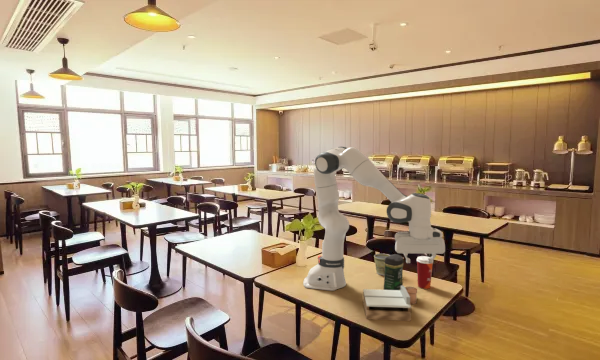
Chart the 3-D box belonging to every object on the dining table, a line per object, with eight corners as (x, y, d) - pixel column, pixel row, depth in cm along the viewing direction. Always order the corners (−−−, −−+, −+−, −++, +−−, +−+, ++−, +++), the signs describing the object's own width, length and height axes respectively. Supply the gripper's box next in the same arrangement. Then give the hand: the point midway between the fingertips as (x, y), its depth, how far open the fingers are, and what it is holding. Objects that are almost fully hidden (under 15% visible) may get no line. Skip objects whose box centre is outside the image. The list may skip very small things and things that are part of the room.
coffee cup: (433, 290, 170) (435, 261, 168) (416, 289, 172) (417, 260, 170) (431, 283, 178) (431, 256, 177) (414, 282, 180) (415, 255, 178)
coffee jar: (395, 297, 162) (396, 259, 160) (381, 292, 168) (381, 256, 166) (405, 291, 169) (406, 255, 167) (391, 286, 175) (391, 251, 173)
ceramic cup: (371, 274, 191) (371, 257, 190) (377, 269, 200) (377, 252, 199) (394, 279, 185) (394, 261, 184) (399, 273, 193) (399, 256, 192)
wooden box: (366, 318, 142) (366, 307, 142) (363, 301, 158) (363, 291, 157) (410, 320, 140) (411, 309, 140) (402, 303, 156) (402, 292, 156)
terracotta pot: (405, 304, 155) (405, 291, 155) (402, 298, 161) (403, 286, 161) (418, 304, 155) (418, 292, 154) (415, 299, 161) (415, 286, 160)
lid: (366, 306, 142) (366, 297, 141) (363, 290, 157) (363, 282, 157) (410, 307, 140) (411, 299, 140) (402, 292, 156) (403, 284, 155)
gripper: (396, 233, 142) (396, 265, 144) (446, 233, 140) (446, 265, 142) (393, 229, 149) (393, 260, 150) (441, 229, 147) (441, 260, 148)
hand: (419, 262), depth 146 cm, fingers open, 8 cm apart
